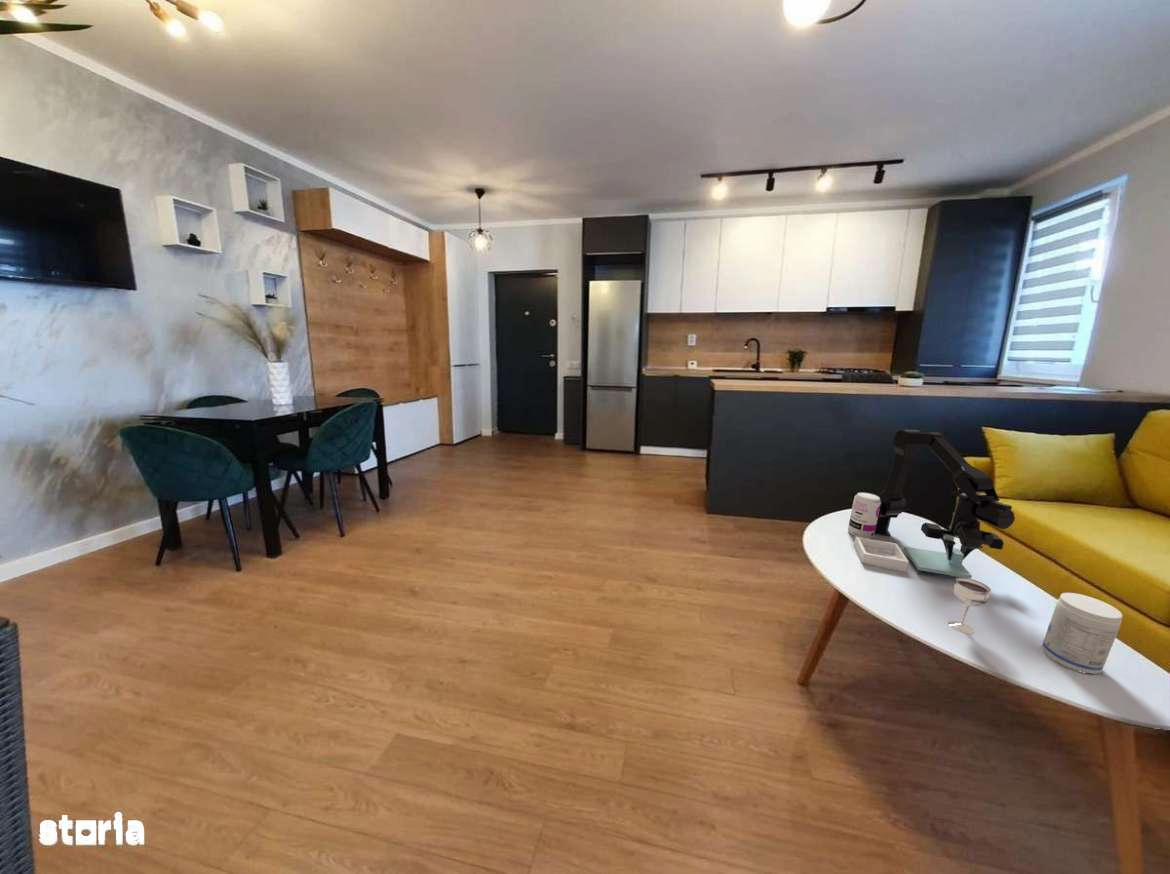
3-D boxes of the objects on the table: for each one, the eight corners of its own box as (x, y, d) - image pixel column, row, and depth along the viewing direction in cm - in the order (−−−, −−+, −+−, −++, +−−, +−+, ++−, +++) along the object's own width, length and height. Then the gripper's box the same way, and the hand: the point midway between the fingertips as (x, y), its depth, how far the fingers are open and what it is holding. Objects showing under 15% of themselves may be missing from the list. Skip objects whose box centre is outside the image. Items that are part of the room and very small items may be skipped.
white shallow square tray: (853, 545, 151) (855, 536, 150) (894, 553, 146) (896, 543, 146) (861, 563, 139) (864, 553, 138) (906, 572, 135) (908, 562, 134)
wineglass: (937, 617, 113) (948, 576, 110) (963, 618, 113) (975, 577, 110) (957, 635, 107) (970, 592, 104) (986, 636, 106) (999, 593, 104)
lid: (903, 551, 146) (906, 535, 144) (951, 558, 141) (955, 542, 140) (917, 572, 133) (921, 555, 132) (970, 581, 128) (974, 563, 127)
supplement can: (873, 533, 161) (881, 495, 157) (873, 541, 154) (881, 502, 150) (848, 527, 165) (855, 490, 161) (846, 535, 158) (854, 496, 155)
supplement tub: (1043, 639, 106) (1061, 586, 103) (1102, 663, 99) (1124, 606, 96) (1038, 657, 100) (1057, 601, 97) (1100, 683, 93) (1124, 624, 90)
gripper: (939, 518, 127) (927, 566, 131) (1020, 531, 121) (1005, 581, 125) (926, 504, 137) (915, 549, 141) (1000, 515, 131) (986, 562, 135)
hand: (954, 560), depth 135 cm, fingers closed on lid, 2 cm apart
